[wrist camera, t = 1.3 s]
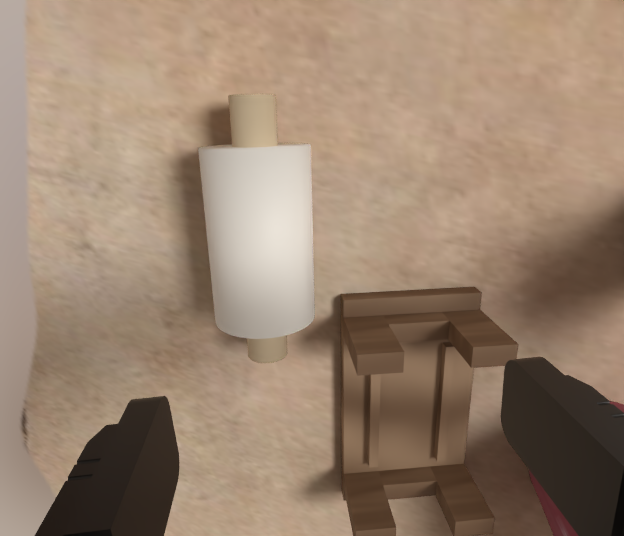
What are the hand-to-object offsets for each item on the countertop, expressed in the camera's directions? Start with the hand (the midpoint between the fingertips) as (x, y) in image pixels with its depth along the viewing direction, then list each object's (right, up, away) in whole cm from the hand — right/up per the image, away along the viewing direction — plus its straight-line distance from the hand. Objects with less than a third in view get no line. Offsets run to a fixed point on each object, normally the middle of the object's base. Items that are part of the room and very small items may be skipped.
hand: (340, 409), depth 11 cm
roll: (-3, +6, +15) cm, 16 cm away
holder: (+5, -5, +20) cm, 21 cm away
